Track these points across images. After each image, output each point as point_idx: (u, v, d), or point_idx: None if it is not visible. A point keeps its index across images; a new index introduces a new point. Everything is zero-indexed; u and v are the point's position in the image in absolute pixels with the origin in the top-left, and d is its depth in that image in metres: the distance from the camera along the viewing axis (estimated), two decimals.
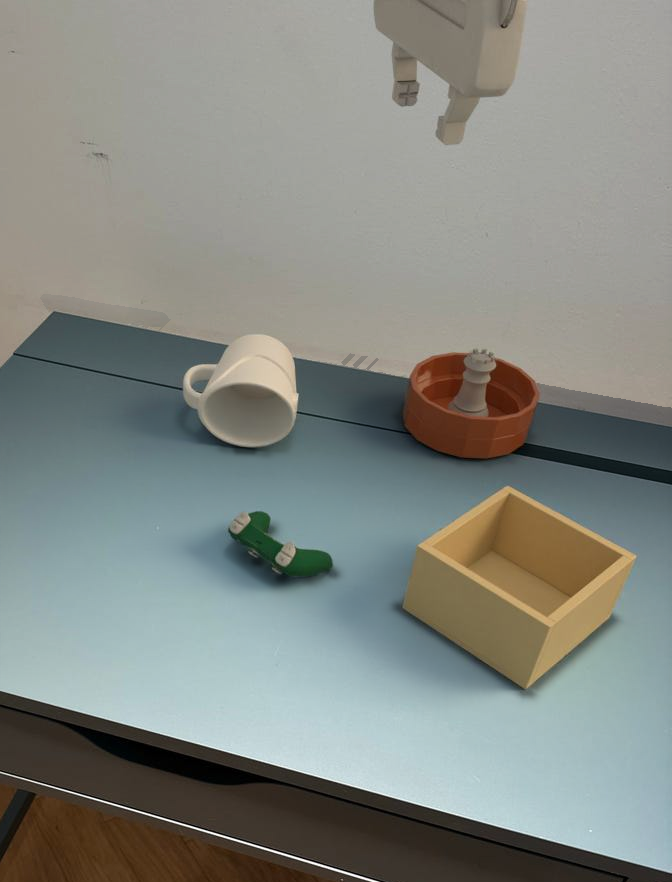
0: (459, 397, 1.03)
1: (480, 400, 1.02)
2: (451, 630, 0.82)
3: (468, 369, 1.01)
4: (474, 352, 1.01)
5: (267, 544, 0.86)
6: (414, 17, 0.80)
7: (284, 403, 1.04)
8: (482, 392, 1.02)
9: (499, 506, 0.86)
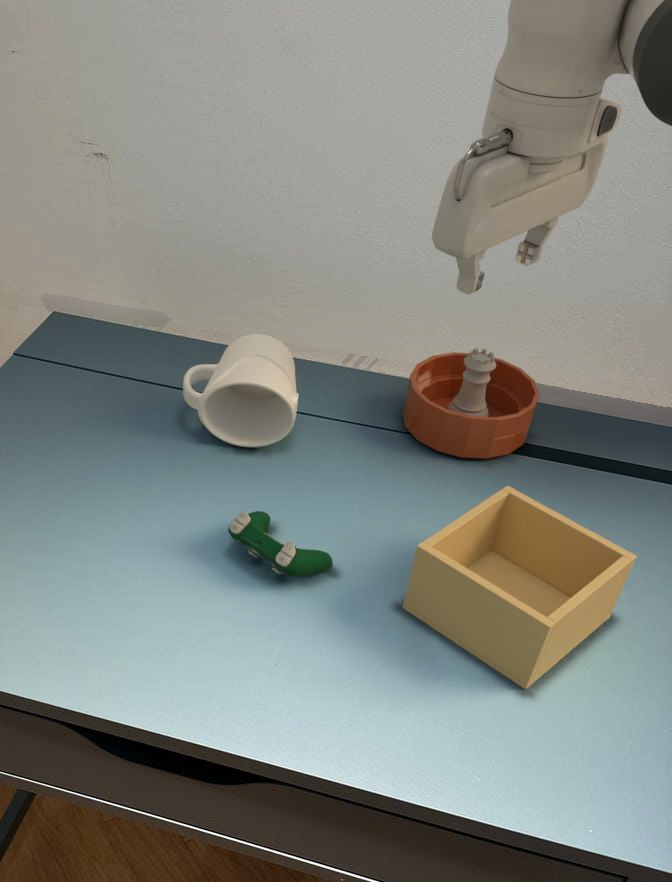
0: (459, 397, 1.03)
1: (480, 400, 1.02)
2: (451, 630, 0.82)
3: (468, 369, 1.01)
4: (474, 352, 1.01)
5: (267, 544, 0.86)
6: None
7: (284, 403, 1.04)
8: (482, 392, 1.02)
9: (499, 506, 0.86)
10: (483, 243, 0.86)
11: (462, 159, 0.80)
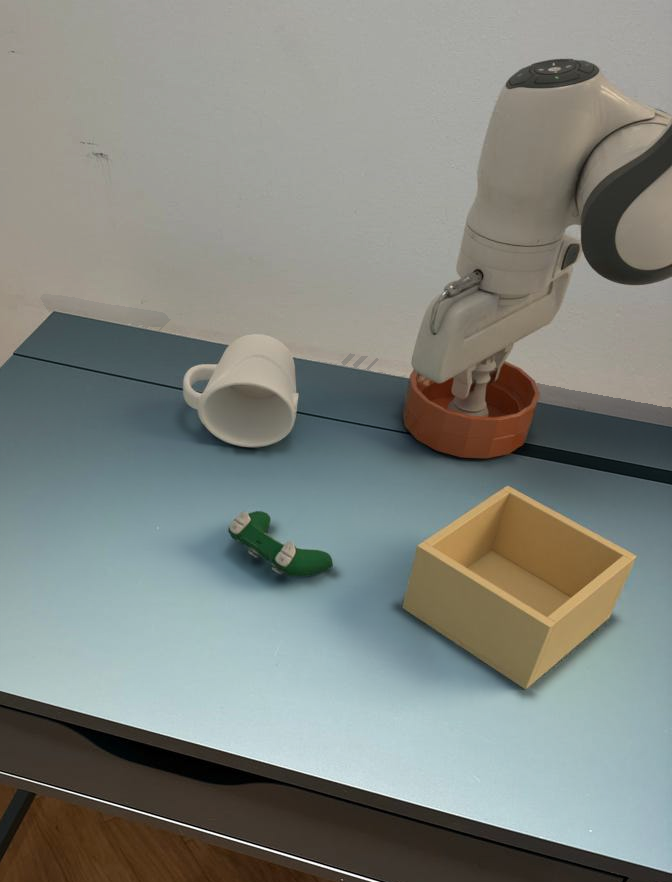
0: None
1: (480, 400, 1.02)
2: (451, 630, 0.82)
3: None
4: None
5: (267, 544, 0.86)
6: None
7: (284, 403, 1.04)
8: (482, 392, 1.02)
9: (499, 506, 0.86)
10: (458, 368, 0.94)
11: (437, 300, 0.89)
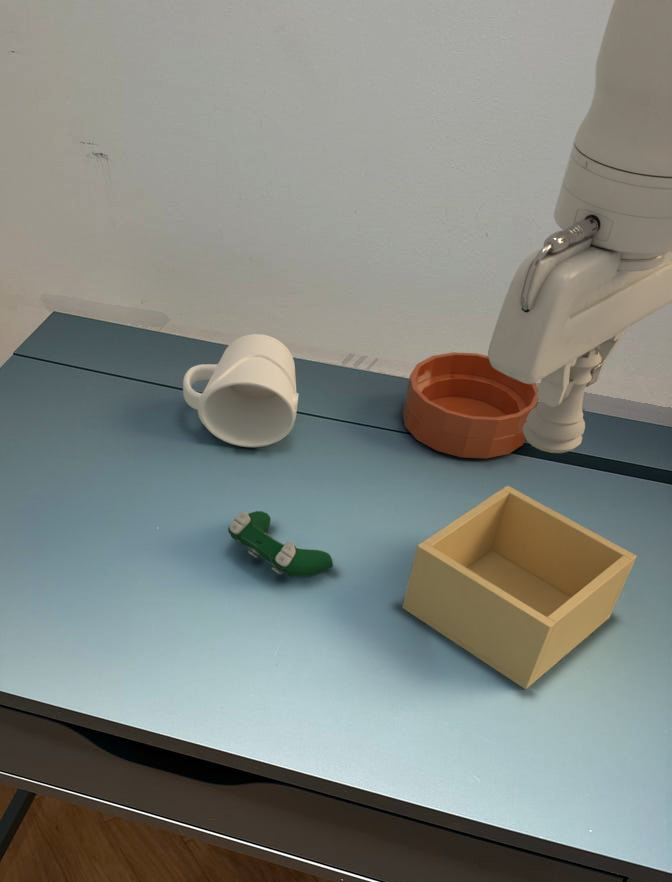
0: None
1: (576, 408, 0.73)
2: (451, 630, 0.82)
3: None
4: None
5: (267, 544, 0.86)
6: None
7: (284, 403, 1.04)
8: (579, 397, 0.72)
9: (499, 506, 0.86)
10: (556, 362, 0.65)
11: (534, 260, 0.59)
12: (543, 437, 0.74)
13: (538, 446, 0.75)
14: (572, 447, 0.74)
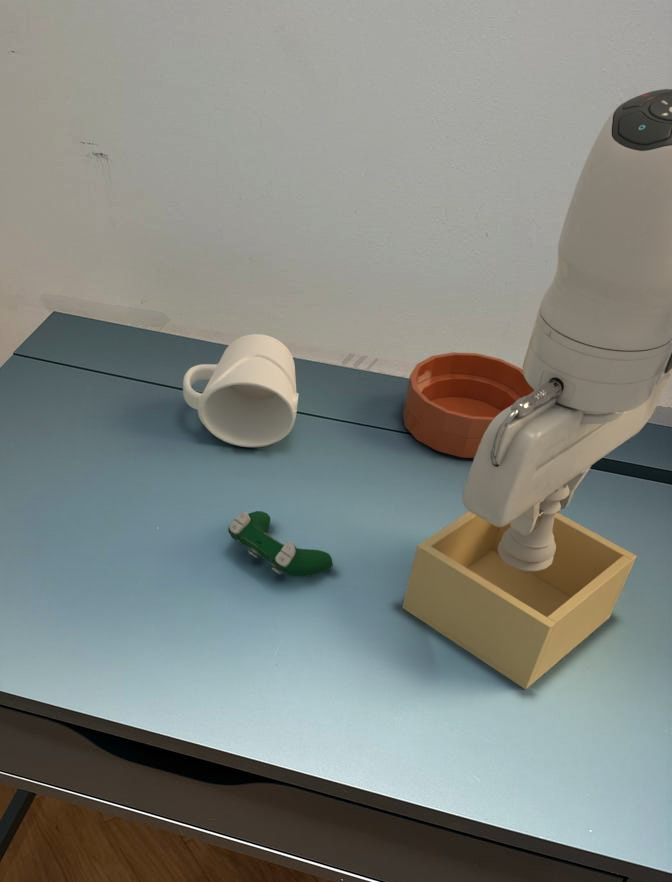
0: None
1: (546, 533, 0.78)
2: (451, 630, 0.82)
3: None
4: None
5: (267, 544, 0.86)
6: None
7: (284, 403, 1.04)
8: (550, 524, 0.77)
9: None
10: (525, 506, 0.70)
11: (502, 424, 0.64)
12: (516, 558, 0.79)
13: (512, 566, 0.80)
14: (544, 567, 0.79)
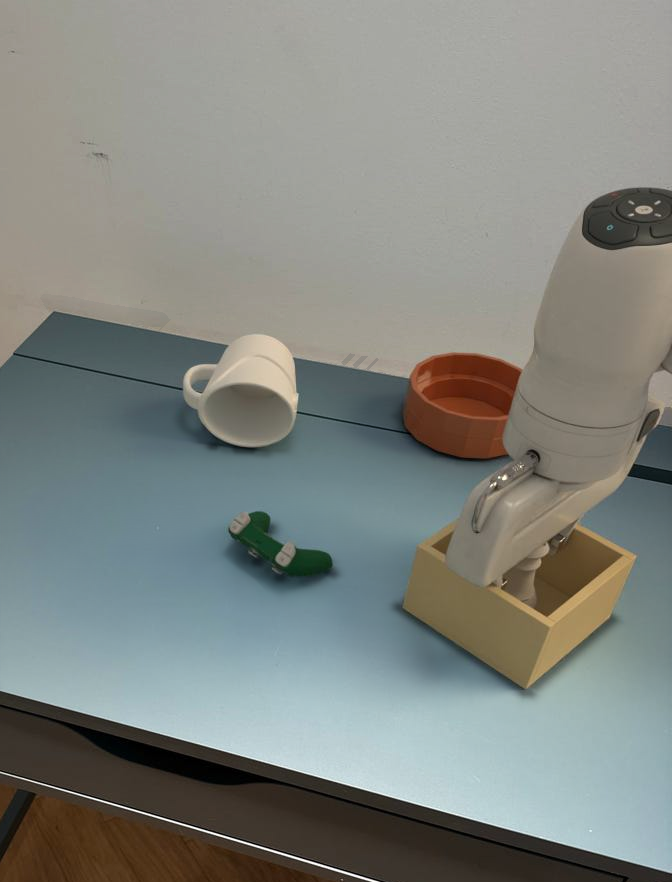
0: None
1: (527, 587, 0.82)
2: (451, 630, 0.82)
3: None
4: None
5: (267, 544, 0.86)
6: None
7: (284, 403, 1.04)
8: (531, 578, 0.82)
9: None
10: (505, 568, 0.74)
11: (481, 495, 0.68)
12: None
13: None
14: None
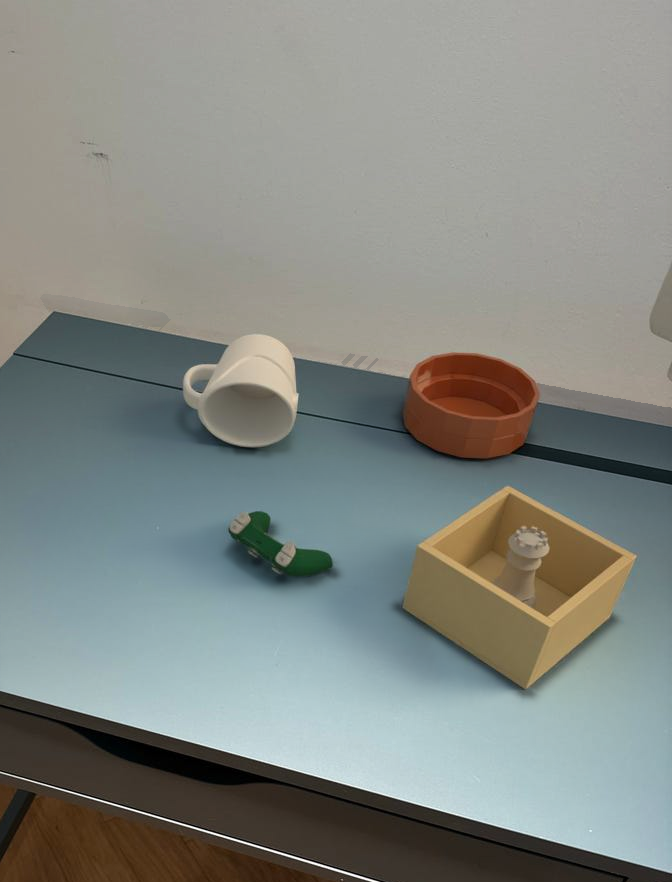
0: (501, 581, 0.83)
1: (527, 587, 0.82)
2: (451, 630, 0.82)
3: (514, 553, 0.80)
4: (521, 531, 0.80)
5: (267, 544, 0.86)
6: None
7: (284, 403, 1.04)
8: (531, 578, 0.82)
9: (499, 506, 0.86)
10: None
11: None
12: None
13: None
14: None
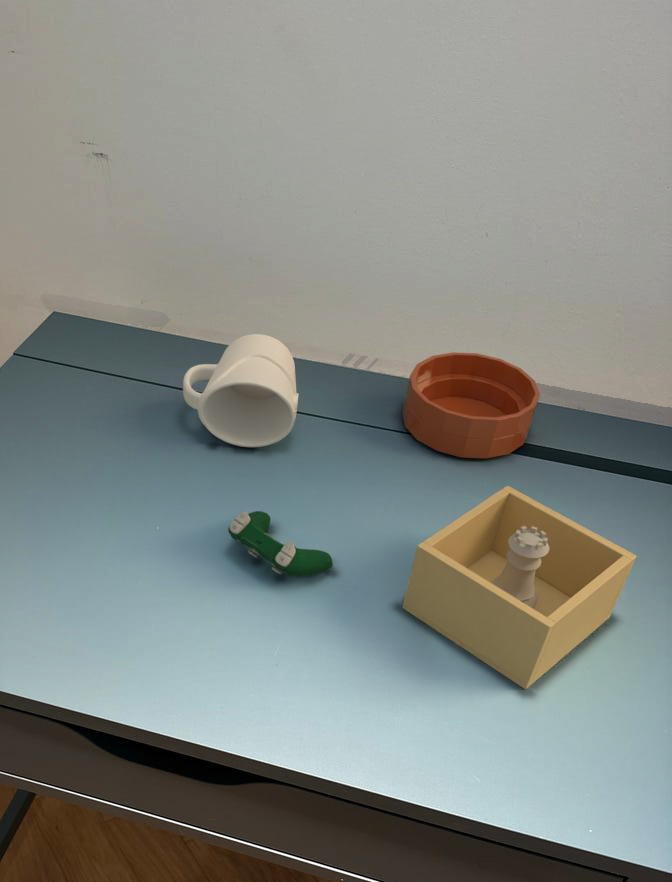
0: (501, 581, 0.83)
1: (527, 587, 0.82)
2: (451, 630, 0.82)
3: (514, 553, 0.80)
4: (521, 531, 0.80)
5: (267, 544, 0.86)
6: None
7: (284, 403, 1.04)
8: (531, 578, 0.82)
9: (499, 506, 0.86)
10: None
11: None
12: None
13: None
14: None
